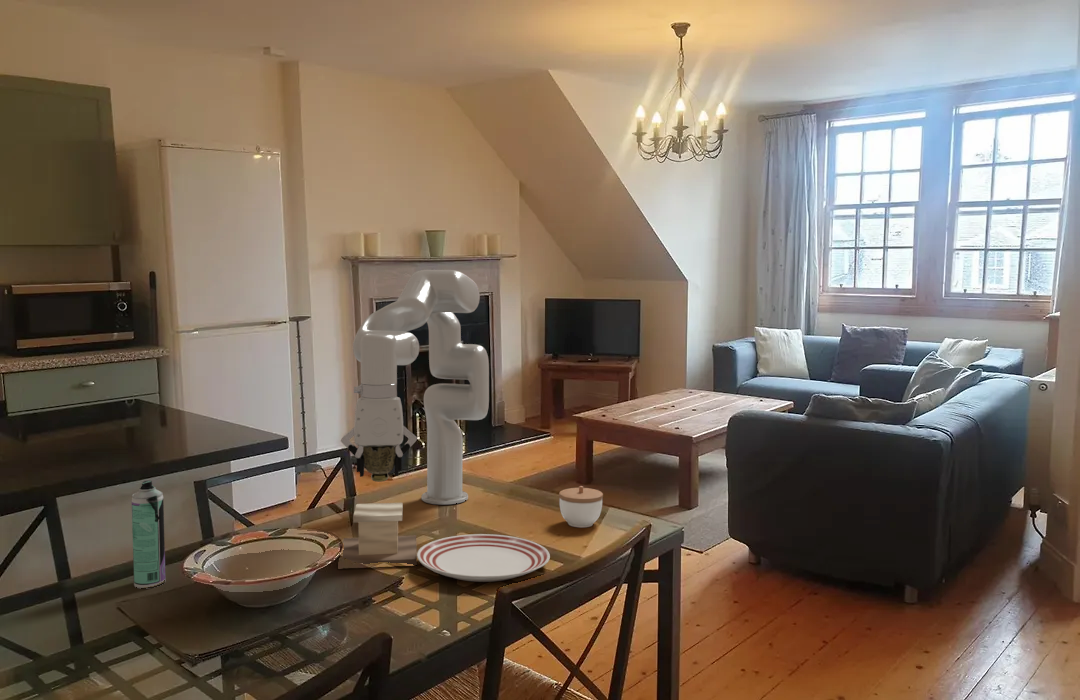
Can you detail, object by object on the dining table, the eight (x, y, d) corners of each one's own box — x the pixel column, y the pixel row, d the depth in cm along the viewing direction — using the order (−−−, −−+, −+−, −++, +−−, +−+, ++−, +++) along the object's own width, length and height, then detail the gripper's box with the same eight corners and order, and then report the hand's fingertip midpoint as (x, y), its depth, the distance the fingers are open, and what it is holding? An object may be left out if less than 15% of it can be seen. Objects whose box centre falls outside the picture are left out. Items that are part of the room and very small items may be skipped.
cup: (401, 476, 175) (401, 440, 174) (392, 485, 167) (392, 447, 167) (368, 475, 175) (367, 439, 175) (357, 484, 168) (357, 446, 167)
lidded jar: (611, 523, 197) (611, 486, 197) (584, 533, 189) (585, 494, 188) (576, 515, 204) (577, 479, 203) (549, 524, 196) (550, 486, 195)
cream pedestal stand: (343, 544, 179) (343, 500, 178) (416, 541, 181) (416, 498, 181) (337, 569, 163) (337, 521, 162) (416, 566, 166) (416, 518, 165)
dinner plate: (489, 537, 185) (489, 523, 185) (577, 568, 166) (577, 552, 166) (390, 566, 166) (390, 550, 166) (476, 604, 147) (476, 586, 147)
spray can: (171, 580, 156) (169, 479, 155) (149, 590, 151) (147, 486, 150) (149, 576, 158) (147, 477, 156) (127, 586, 153) (124, 483, 151)
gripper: (335, 394, 165) (336, 480, 166) (420, 393, 167) (420, 477, 169) (338, 390, 172) (339, 471, 173) (420, 389, 175) (420, 469, 176)
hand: (379, 474), depth 171 cm, fingers closed on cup, 6 cm apart
